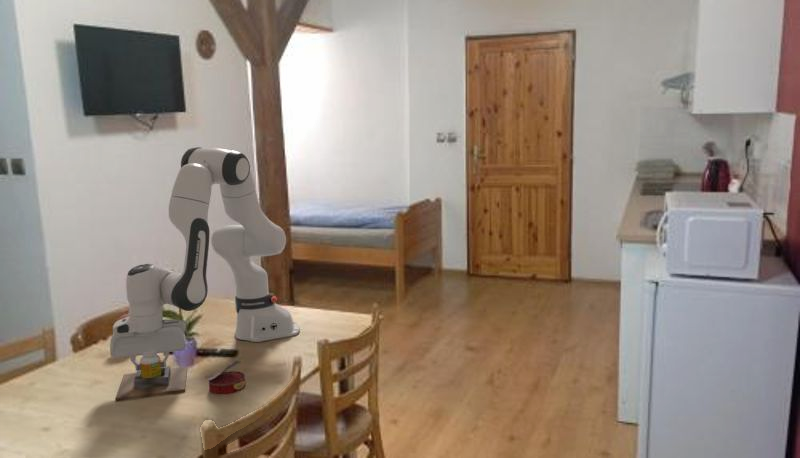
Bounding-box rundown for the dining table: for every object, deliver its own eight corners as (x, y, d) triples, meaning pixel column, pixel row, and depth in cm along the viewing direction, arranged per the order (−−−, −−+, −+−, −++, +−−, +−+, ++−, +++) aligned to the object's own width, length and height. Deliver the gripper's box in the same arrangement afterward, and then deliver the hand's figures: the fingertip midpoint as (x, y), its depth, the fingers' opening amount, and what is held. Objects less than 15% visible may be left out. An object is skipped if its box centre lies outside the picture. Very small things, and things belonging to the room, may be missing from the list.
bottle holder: (187, 368, 199) (186, 358, 198) (185, 391, 182) (184, 380, 181) (124, 376, 194) (122, 366, 193) (115, 401, 177) (114, 389, 176)
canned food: (222, 411, 180) (203, 386, 175) (214, 394, 188) (196, 370, 184) (257, 386, 183) (239, 360, 178) (248, 371, 191) (230, 346, 187)
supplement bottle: (153, 387, 184) (150, 354, 182) (137, 384, 185) (135, 352, 184) (165, 379, 189) (163, 347, 187) (150, 377, 190) (148, 345, 189)
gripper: (185, 314, 191) (189, 359, 193) (109, 322, 185) (114, 368, 188) (184, 320, 185) (188, 367, 187) (106, 329, 179) (111, 376, 182)
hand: (151, 368), depth 187 cm, fingers closed on supplement bottle, 5 cm apart
